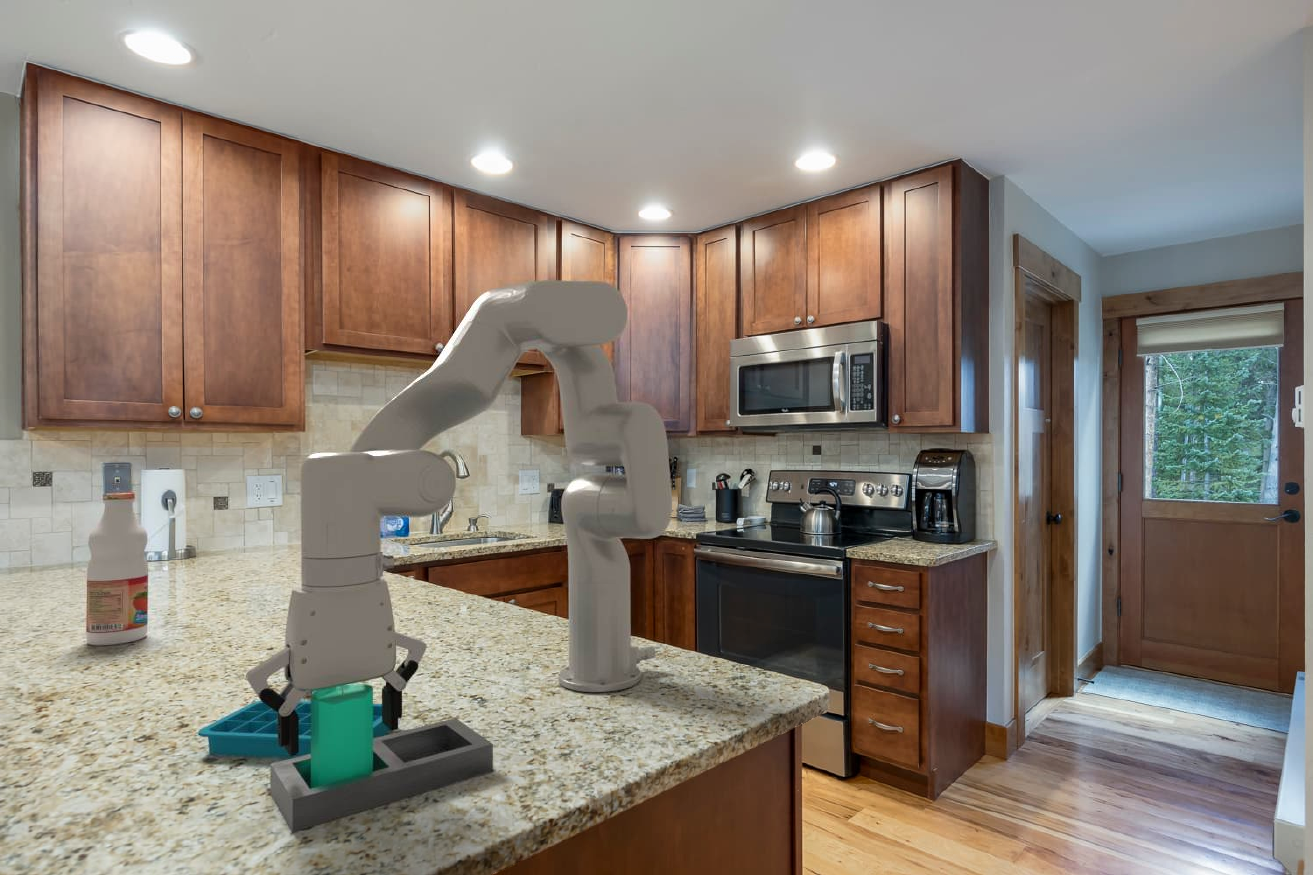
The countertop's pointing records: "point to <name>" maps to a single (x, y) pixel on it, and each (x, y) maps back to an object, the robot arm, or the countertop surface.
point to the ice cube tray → (266, 731)
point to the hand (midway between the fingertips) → (342, 738)
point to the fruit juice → (117, 575)
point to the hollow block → (383, 773)
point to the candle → (341, 733)
